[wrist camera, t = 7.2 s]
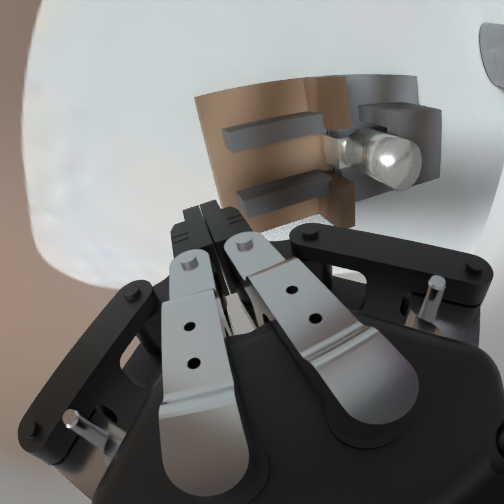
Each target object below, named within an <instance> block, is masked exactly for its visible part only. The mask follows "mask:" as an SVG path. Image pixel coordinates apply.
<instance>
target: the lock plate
mask: <svg viewBox="0 0 504 504" xmlns="http://www.w3.org/2000/svg"><path fill="white" fill-rule="evenodd" d="M194 99H195V103H196V107H197V111H198V115H199V119H200V123H201V127H202V132H203V136H204V140H205V144H206V148H207V152H208V156H209V160H210V164H211V168H212V171H213V175H214V179H215V183H216V187H217V191H218V195H219V199H220V203H221V206H222V209H223V208H226V207H229V206H231V207H234V208H236V209H238V210H239V211H240V213H241V214H242V216H243V217H244V218H245V220H246V221H247V223H248V224H249V226H250V227H251V229H252V230H253V231H254V232H258V233H261V232H264V231H267V230H270V229H273V228H276V227H279V226H282V225H285V224H288V223H291V222H294V221H297V220H300V219H303V218H306V217H309V216H313V215H316V214H320V215H322V216H323V217H324V218H325V219H327V220H328V221H329V222H330V223H332V224H333V225H334V226H336V227H342V228H347V229H348V228H351V227H354V226H355V202H356V201H359V200H363V199H366V198H369V197H372V196H375V195H378V194H382V193H385V192H388V191H391V190H395V189H393V188H392V187H390V186H388V185H386V184H384V183H382V182H380V181H378V180H376V179H374V178H372V177H370V176H368V175H366V174H364V173H362V172H360V171H357V170H355V169H353V168H352V167H351V166H350V167H345V168H341V169H339V168H337V167H335V166H334V172H333V171H331V170H330V167H329V164H328V163H326V162H325V155H324V145H323V136H322V134H326V132H327V129H330V130H331V133H333V132H339V131H345V130H351V129H357V128H362V127H371V126H378V125H379V126H383V127H387V134H391V135H394V136H397V137H400V138H404V139H407V140H410V141H413V142H414V143H415V144H416V145H417V146H418V147H419V149H420V152H421V156H422V166H421V170H420V174H419V176H418V178H417V180H416V181H415V183H414V184H413V185H412V186H414V185H417V184H421V183H424V182H427V181H430V180H434V179H437V178H439V174H440V160H441V132H442V116H441V110H439V109H435V108H431V107H426V106H421V105H419V103H418V87H417V76H406V75H381V74H358V75H332V76H324V77H306V78H296V79H288V80H280V81H273V82H266V83H260V84H254V85H248V86H243V87H238V88H233V89H228V90H223V91H219V92H214V93H210V94H206V95H202V96H198V97H194ZM397 191H398V190H397Z"/></svg>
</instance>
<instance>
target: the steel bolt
mask: <svg viewBox="0 0 504 504" xmlns="http://www.w3.org/2000/svg"><path fill="white" fill-rule="evenodd" d="M322 136H323V145H324V155H325V162H326V163H328V164H330V165H333V166H335V167H337V168H339V169H341V168H345V167H350V166H351V167H352V168H353V169H355V170H357V171H360V172H362V173H364V174H366V175H368V176H370V177H372V178H374V179H376V180H378V181H380V182H382V183H384V184H386V185H388V186H390V187H392V188H393V189H395V190H398V191H404V190H407V189H408V188H410V187H411V186H412V185H413V184H414V183H415V181H416V180H417V178H418V176H419V174H420V170H421V166H422V156H421V152H420V149H419V147H418V146H417V145H416V144H415V143H414V142H413V141H410V140H407V139H404V138H400V137H397V136H394V135H391V134H387V127H383V126H379V125H378V126H371V127H362V128H357V129H351V130H345V131H339V132H333V133H327V134H322Z"/></svg>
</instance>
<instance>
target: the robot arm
mask: <svg viewBox="0 0 504 504" xmlns="http://www.w3.org/2000/svg"><path fill="white" fill-rule="evenodd" d="M480 48H481V54H482V58H483V63H484V66H485V69H486V72H487V74H488V76H489V78H490V80H491V81H492V83H493V84H495V85H496V86H500V87H504V25H502V24H494V23H484V24H483V25H482V27H481V30H480ZM200 208H201V211H202V214H201V211H200ZM200 208H199V206H198V205H197V206H194V207H191V208H188V209H185V210H183V214H184V219H185V221H184V222H181V223H178V224H175V225H174V226H173V228H172V230H171V240H172V248H173V255H174V259H173V260H172V262H171V264H170V267H169V276H168V277H167V278H166V279H164V280H163V281H161V282H160V283H158V284H156V285H155V286H153V287H152V285H151V283H150V282H148V281H146V280H137V281H133V282H131V283H129V284H127V285H125V286H124V287H123V288H121V289H120V290H119V291H118V293H117V294H116V295H115V296H114V298H113V299H112V300H111V301H110V302H109V303H108V304H107V306H106V307H105V308H104V309H103V310H102V312H101V313H100V314H99V315H98V317H97V318H96V319H95V320H94V321H93V322H92V324H91V325H90V326H89V328H88V329H87V330H86V331H85V332H84V334H83V335H82V336H81V338H80V339H79V340H78V341H77V343H76V344H75V345H74V347H73V348H72V349H71V350H70V352H69V353H68V354H67V356H66V357H65V358H64V360H63V361H62V362H61V364H60V365H59V366H58V368H57V369H56V370H55V372H54V373H53V374H52V376H51V377H50V379H49V380H48V381H47V383H46V384H45V386H44V387H43V388H42V390H41V391H40V393H39V394H38V396H37V397H36V398H35V400H34V401H33V403H32V404H31V406H30V407H29V409H28V411H27V412H26V413H25V415H24V416H23V418H22V420H21V422H20V424H19V428H18V440H19V443H20V445H21V447H22V448H23V449H24V450H25V451H27V452H28V453H30V454H32V455H34V456H36V457H38V458H39V459H41V460H43V461H44V462H45V463H46V464H48V465H50V466H52V467H54V468H56V469H57V470H58V471H59V472H61V473H62V474H63V475H64V476H65V477H66V478H67V479H68V480H69V481H70V482H71V483H72V484H73V485H74V486H75V487H77V488H78V489H79V490H80V491H81V492H82V493H84V494H85V495H86V496H87V497H88V498H89V499H91V500H92V504H504V388H503V384H502V379H501V376H500V372H499V370H498V368H497V366H496V364H495V363H494V361H493V360H492V358H491V357H490V356H489V355H488V354H487V353H485V352H484V351H483V350H481V349H480V348H478V347H479V332H480V307H481V305H482V303H483V300H484V298H485V296H486V293H487V291H488V288H489V286H490V284H491V281H492V279H493V270H492V268H491V266H490V265H489V264H488V262H486V261H485V260H484V259H482V258H480V257H478V256H476V255H472V254H468V253H464V252H459V251H455V250H451V249H446V248H442V247H437V246H433V245H428V244H423V243H419V242H414V241H409V240H404V239H399V238H394V237H389V236H384V235H379V234H374V233H369V232H363V231H358V230H353V229H347V228H342V227H336V226H330V225H324V224H319V223H306V224H302V225H299V226H297V227H295V228H294V229H293V230H291V232H290V234H289V238H290V240H283V241H268V240H267V239H266V238H265V237H264V236H263V235H262V234H260V233H258V232H254V231H253V230H252V229H251V227H250V226H249V224H248V223H247V221H246V220H245V218H244V217H243V216H242V214H241V213H240V211H239V210H238V209H236V208H234V207H231V206H229V207H226V208H223V209H220V207H219V205H218V203H217V201H216V200H212V201H209V202H206V203H203V204H200ZM202 215H203V216H202ZM203 218H204V219H203ZM332 265H333V266H337V267H341V268H346V269H350V270H354V271H358V272H360V273H362V274H363V275H364V276H365V278H366V280H367V284H364V283H359V282H355V281H351V280H347V279H343V278H339V277H335V276H332ZM221 269H222V270H221ZM222 272H223V273H222ZM223 275H224V276H223ZM224 277H225V279H224ZM225 280H226V282H227V285H228V287H229V290H230V292H231V294H233V293H236V292H237V293H238V295H239V299H240V302H241V305H242V308H243V310H244V311H245V313H246V315H247V316H248V318H249V320H250V322H251V324H252V325H253V327H254V329H255V330H254V331H252V332H250V333H246V334H240V335H234V331H233V327H232V323H231V319H230V315H229V312H228V309H227V301H226V298H225V296H227V295H229V291H228V288H227V285H226V282H225ZM135 336H137V338H138V339H139V340H140V342H141V343H140V344H139V346H138V347H137V349H136V350H135V351H134V353H133V354H132V356H131V357H130V359H129V360H128V361H127V363H126V364H125V366H124V367H123V369H121V367H120V358H121V356H122V354H123V352H124V351H125V350H126V348H127V346H128V345H129V344H130V343H131V341H132V340H133V338H134V337H135Z"/></svg>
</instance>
